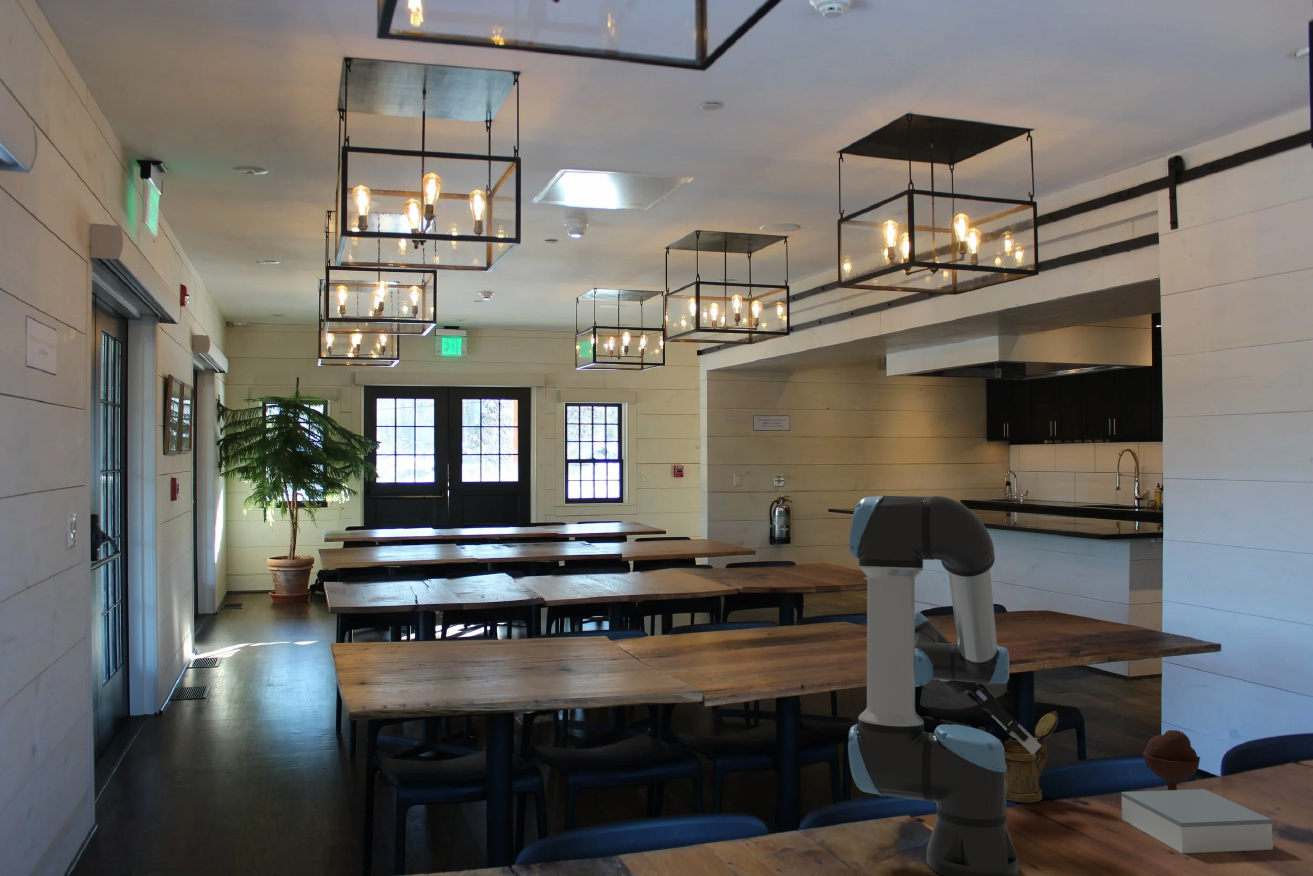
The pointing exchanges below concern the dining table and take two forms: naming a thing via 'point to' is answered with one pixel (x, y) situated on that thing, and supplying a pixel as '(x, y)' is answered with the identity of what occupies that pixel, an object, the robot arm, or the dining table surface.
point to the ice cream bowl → (1171, 757)
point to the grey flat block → (1197, 821)
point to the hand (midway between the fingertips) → (1026, 741)
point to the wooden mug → (1027, 763)
